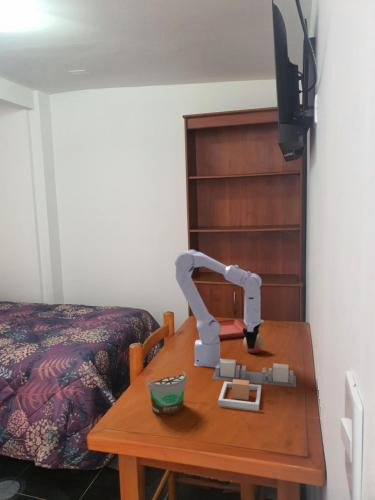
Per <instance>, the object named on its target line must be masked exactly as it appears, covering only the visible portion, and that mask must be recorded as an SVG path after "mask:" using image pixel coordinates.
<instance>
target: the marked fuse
mask: <svg viewBox="0 0 375 500" xmlns="http://www.w3.org/2000/svg"><path fill="white" fill-rule="evenodd" d="M231 382H232V388H231V398H232V399H233V400H243V401H249V398H250V390H249V384H250V382H249V380H238V379H233V381H231Z"/></svg>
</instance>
